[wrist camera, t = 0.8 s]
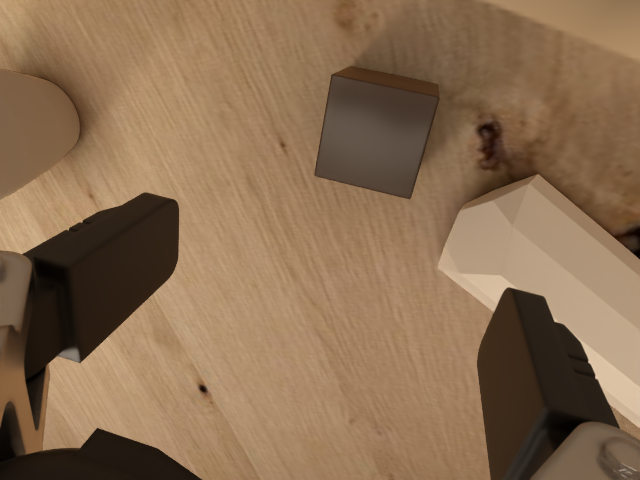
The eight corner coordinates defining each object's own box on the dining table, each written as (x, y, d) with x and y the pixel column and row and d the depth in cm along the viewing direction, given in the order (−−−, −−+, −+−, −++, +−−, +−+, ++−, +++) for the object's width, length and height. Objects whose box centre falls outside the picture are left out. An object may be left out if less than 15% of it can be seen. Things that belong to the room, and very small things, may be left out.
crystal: (903, 436, 22) (548, 133, 20) (821, 552, 22) (453, 258, 20) (747, 383, 30) (477, 158, 28) (685, 470, 29) (407, 250, 27)
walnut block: (349, 65, 25) (331, 73, 20) (439, 84, 24) (440, 96, 20) (333, 152, 27) (313, 176, 23) (414, 171, 26) (410, 199, 22)
